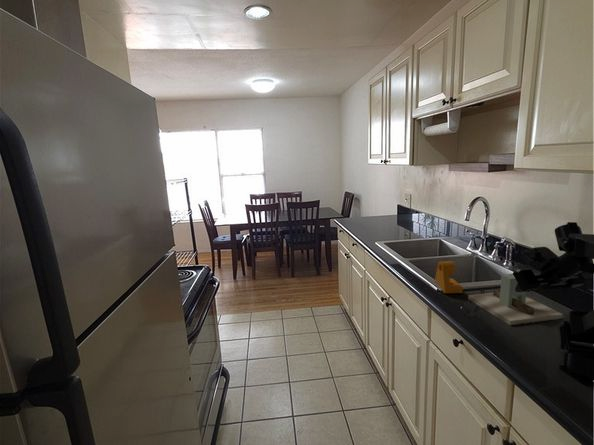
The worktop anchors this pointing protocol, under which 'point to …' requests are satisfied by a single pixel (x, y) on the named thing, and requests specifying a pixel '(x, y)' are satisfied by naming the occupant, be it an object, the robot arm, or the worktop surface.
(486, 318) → the worktop surface
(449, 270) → the bracket
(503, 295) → the grey-green notched block
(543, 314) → the cleat board
